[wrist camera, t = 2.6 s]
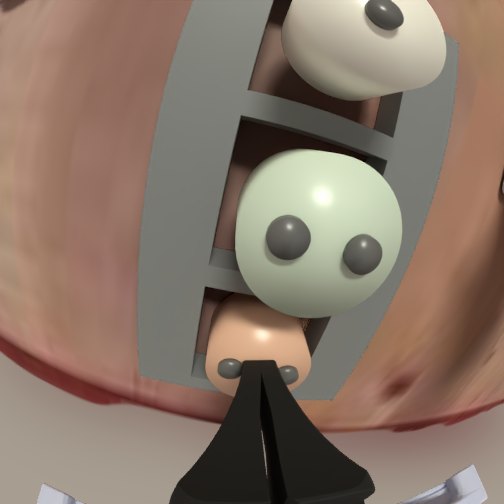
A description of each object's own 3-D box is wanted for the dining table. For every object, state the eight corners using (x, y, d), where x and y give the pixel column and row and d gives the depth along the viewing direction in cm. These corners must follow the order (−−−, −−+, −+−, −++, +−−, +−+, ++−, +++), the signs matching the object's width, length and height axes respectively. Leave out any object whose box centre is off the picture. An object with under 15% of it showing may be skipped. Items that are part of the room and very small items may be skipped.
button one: (402, 27, 7) (451, 2, 4) (387, 119, 9) (444, 117, 5) (294, -16, 6) (314, -65, 3) (267, 77, 8) (282, 45, 5)
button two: (374, 170, 10) (428, 187, 6) (337, 278, 11) (368, 330, 8) (253, 134, 9) (261, 129, 6) (225, 257, 11) (219, 310, 7)
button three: (310, 297, 14) (328, 342, 11) (284, 361, 16) (292, 407, 12) (219, 280, 13) (212, 326, 10) (205, 350, 15) (199, 397, 12)
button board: (437, 49, 9) (458, 43, 7) (325, 378, 17) (332, 400, 15) (219, -29, 7) (216, -49, 6) (147, 353, 16) (139, 375, 14)
